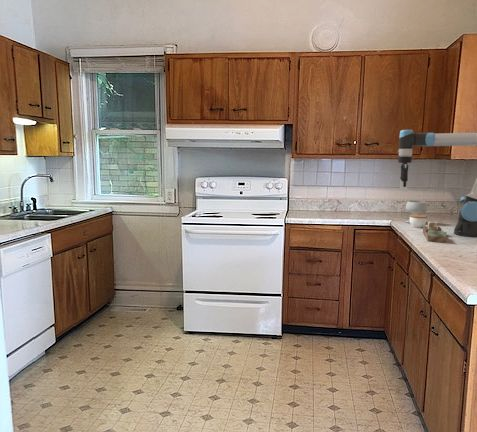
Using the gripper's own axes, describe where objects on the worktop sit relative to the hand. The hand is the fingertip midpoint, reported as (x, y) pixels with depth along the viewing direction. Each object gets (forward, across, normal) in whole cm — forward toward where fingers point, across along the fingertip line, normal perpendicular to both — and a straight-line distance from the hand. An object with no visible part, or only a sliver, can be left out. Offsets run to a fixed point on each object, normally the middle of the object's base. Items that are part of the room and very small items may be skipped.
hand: (403, 191), depth 256 cm
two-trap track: (+26, +9, +17) cm, 32 cm away
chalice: (+26, -43, +12) cm, 52 cm away
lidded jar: (+26, -25, +12) cm, 38 cm away
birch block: (+23, 0, +17) cm, 29 cm away
